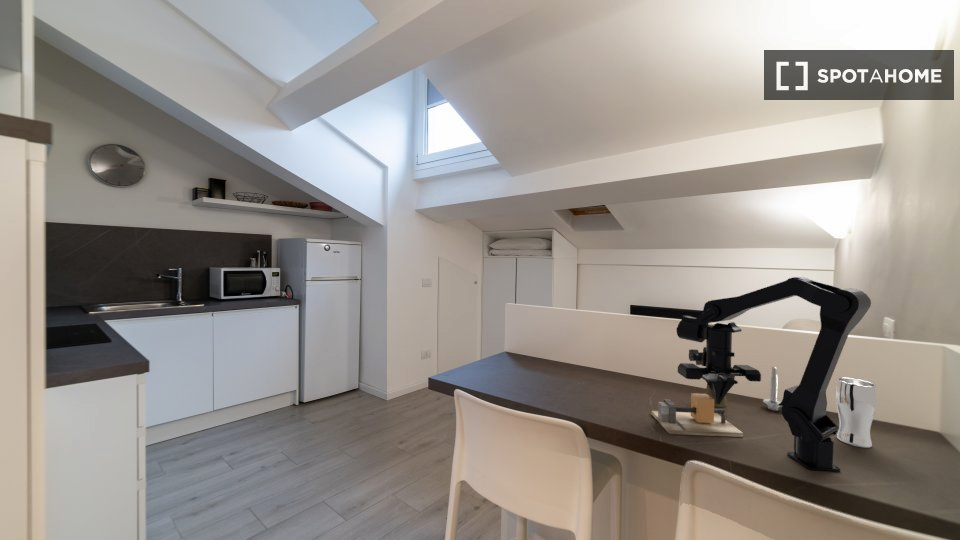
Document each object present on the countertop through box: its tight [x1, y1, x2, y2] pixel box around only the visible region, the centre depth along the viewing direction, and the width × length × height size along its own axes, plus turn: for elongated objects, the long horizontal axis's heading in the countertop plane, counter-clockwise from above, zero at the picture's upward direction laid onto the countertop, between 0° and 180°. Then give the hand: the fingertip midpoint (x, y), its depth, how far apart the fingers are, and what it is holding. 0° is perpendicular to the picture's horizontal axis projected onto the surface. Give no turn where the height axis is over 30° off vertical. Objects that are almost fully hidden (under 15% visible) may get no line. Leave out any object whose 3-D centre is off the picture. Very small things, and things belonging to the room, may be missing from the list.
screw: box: [762, 366, 782, 412], centre depth 110 cm, size 13×5×5 cm
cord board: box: [650, 398, 744, 438], centre depth 99 cm, size 12×18×6 cm, turn 85°
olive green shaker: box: [704, 371, 728, 408], centre depth 114 cm, size 6×6×11 cm
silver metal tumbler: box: [835, 377, 877, 449], centre depth 90 cm, size 7×7×15 cm
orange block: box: [690, 392, 715, 423], centre depth 99 cm, size 4×4×6 cm
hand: (717, 403), depth 99 cm, fingers closed
